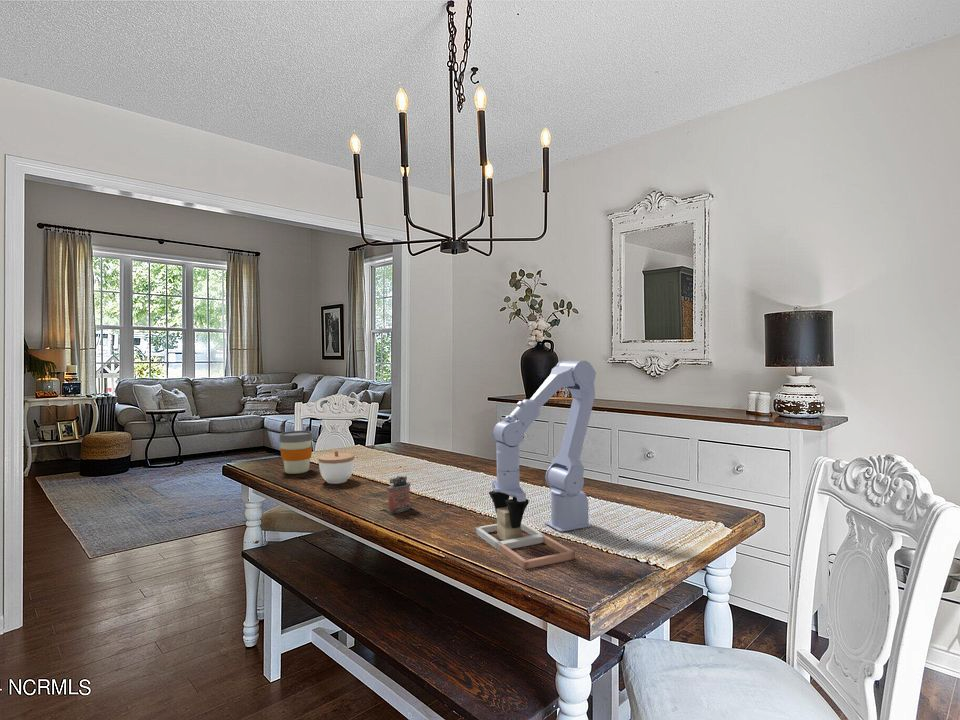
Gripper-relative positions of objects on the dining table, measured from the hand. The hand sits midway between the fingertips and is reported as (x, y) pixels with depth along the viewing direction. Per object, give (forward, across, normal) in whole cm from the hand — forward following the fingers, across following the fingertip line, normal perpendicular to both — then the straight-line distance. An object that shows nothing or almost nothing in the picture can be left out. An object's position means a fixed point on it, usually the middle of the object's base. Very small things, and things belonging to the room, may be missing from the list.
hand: (508, 523), depth 141 cm
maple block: (+4, 0, 0) cm, 4 cm away
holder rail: (+3, +6, 0) cm, 7 cm away
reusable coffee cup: (+4, -106, -39) cm, 113 cm away
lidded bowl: (+4, -80, -28) cm, 85 cm away
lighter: (+4, -36, -18) cm, 40 cm away
